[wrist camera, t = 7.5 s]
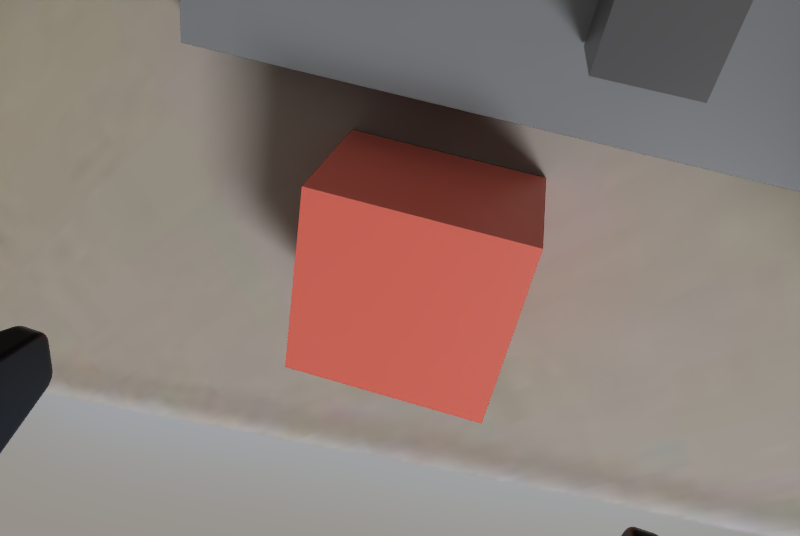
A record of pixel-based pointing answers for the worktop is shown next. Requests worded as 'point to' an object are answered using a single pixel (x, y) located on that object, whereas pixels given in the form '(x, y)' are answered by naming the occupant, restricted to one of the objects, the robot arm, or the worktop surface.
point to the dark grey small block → (664, 43)
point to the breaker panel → (532, 71)
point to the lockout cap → (412, 271)
